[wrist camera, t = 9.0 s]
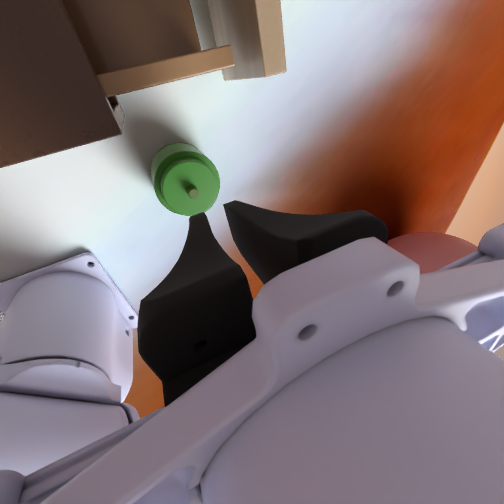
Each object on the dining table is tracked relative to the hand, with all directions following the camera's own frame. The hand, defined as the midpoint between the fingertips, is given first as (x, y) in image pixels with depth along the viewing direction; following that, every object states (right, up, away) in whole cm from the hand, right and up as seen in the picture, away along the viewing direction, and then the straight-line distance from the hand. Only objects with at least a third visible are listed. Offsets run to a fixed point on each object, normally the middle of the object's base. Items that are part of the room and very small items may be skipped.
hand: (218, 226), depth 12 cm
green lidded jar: (-4, +5, +8) cm, 10 cm away
